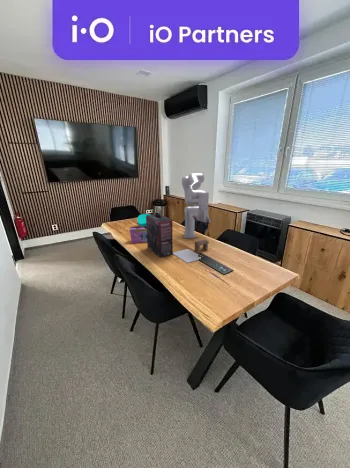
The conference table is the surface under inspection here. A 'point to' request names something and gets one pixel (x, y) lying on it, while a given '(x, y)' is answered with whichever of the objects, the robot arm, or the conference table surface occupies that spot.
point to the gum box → (138, 234)
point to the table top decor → (142, 219)
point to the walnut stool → (201, 242)
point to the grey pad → (187, 255)
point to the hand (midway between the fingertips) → (202, 227)
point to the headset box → (159, 234)
